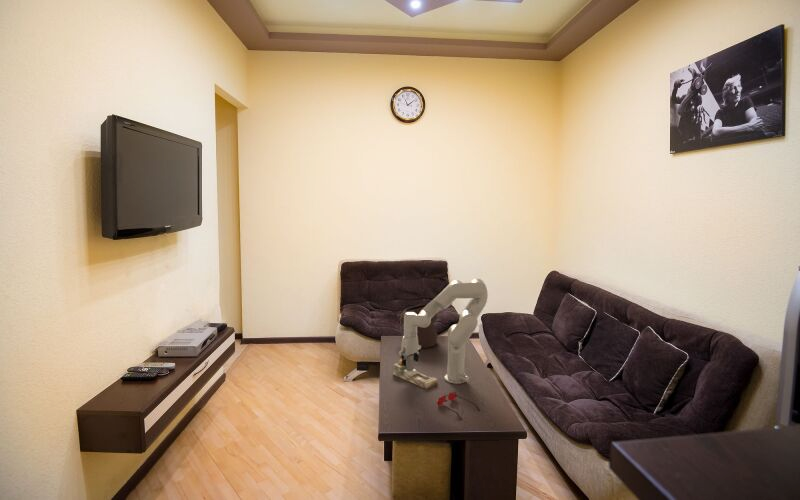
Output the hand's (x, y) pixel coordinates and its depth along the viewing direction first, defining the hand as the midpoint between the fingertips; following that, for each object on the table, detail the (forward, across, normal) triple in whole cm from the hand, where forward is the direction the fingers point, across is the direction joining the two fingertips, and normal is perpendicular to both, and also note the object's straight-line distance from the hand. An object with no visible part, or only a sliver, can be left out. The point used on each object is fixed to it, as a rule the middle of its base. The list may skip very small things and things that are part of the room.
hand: (410, 363), depth 232 cm
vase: (+8, -47, -38) cm, 61 cm away
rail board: (+8, 0, +4) cm, 9 cm away
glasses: (+9, +9, +42) cm, 44 cm away
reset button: (+3, 0, -6) cm, 7 cm away
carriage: (+7, 0, 0) cm, 7 cm away
